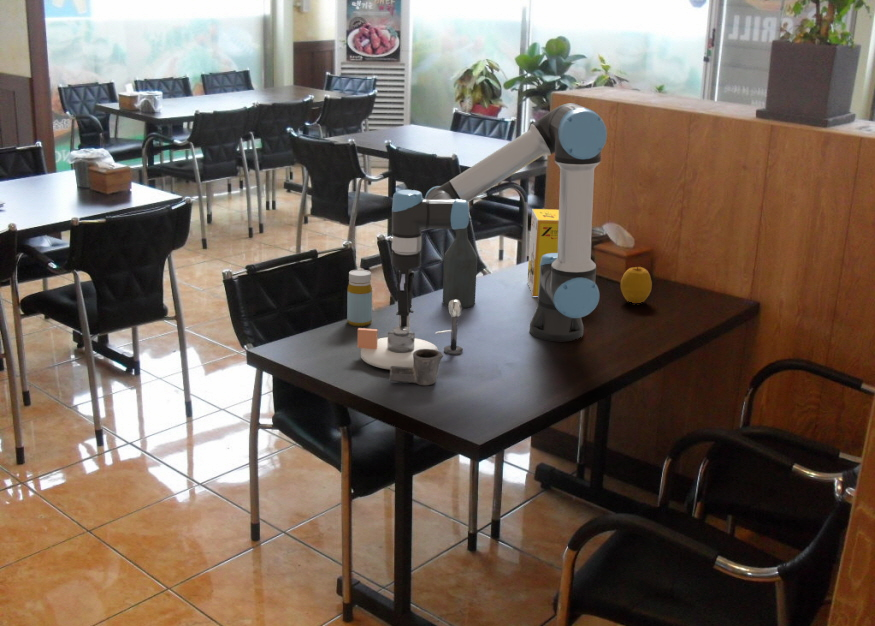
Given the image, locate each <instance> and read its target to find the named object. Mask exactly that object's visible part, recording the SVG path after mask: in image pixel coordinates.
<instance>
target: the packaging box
mask: <svg viewBox="0 0 875 626" xmlns="http://www.w3.org/2000/svg"><path fill="white" fill-rule="evenodd" d="M530 221H531V223H530V224H531V225H530V235H529V236H530V238H529V251H528V252H529V253H528V266H527V267H528V268H527V281H528V283H527V285H528V284H529V286H528V288H529V287H530V289H529V291H530V290H531V291H530V294H531V293H532V294H531V297H532V296H538V291H539V276H540V263H541V257H542V256H543V255H545V254H549V253H558V227H559V209H551V208H550V209H549V208H548V209H547V208H531V220H530ZM527 281H526V282H527Z"/></svg>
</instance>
